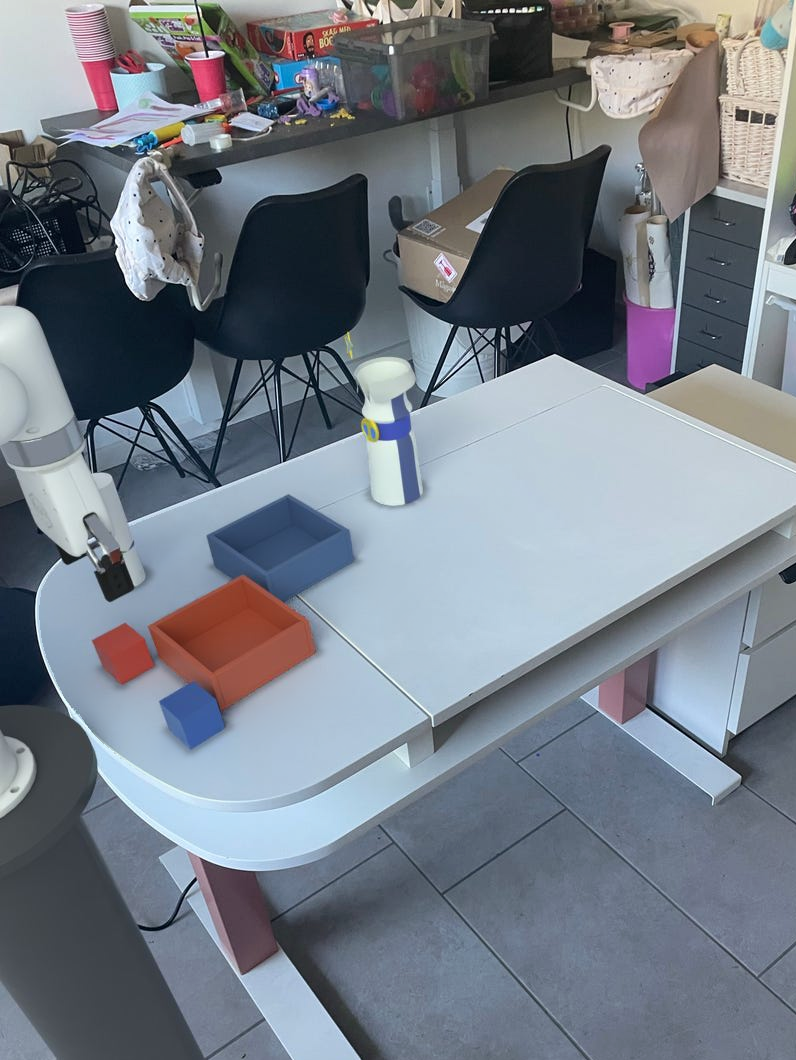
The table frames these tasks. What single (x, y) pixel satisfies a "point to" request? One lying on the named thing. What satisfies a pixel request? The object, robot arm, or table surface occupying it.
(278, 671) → the red bin
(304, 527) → the blue bin
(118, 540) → the tube
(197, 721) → the blue block
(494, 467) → the table surface
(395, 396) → the water bottle
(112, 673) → the red block
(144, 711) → the table surface
